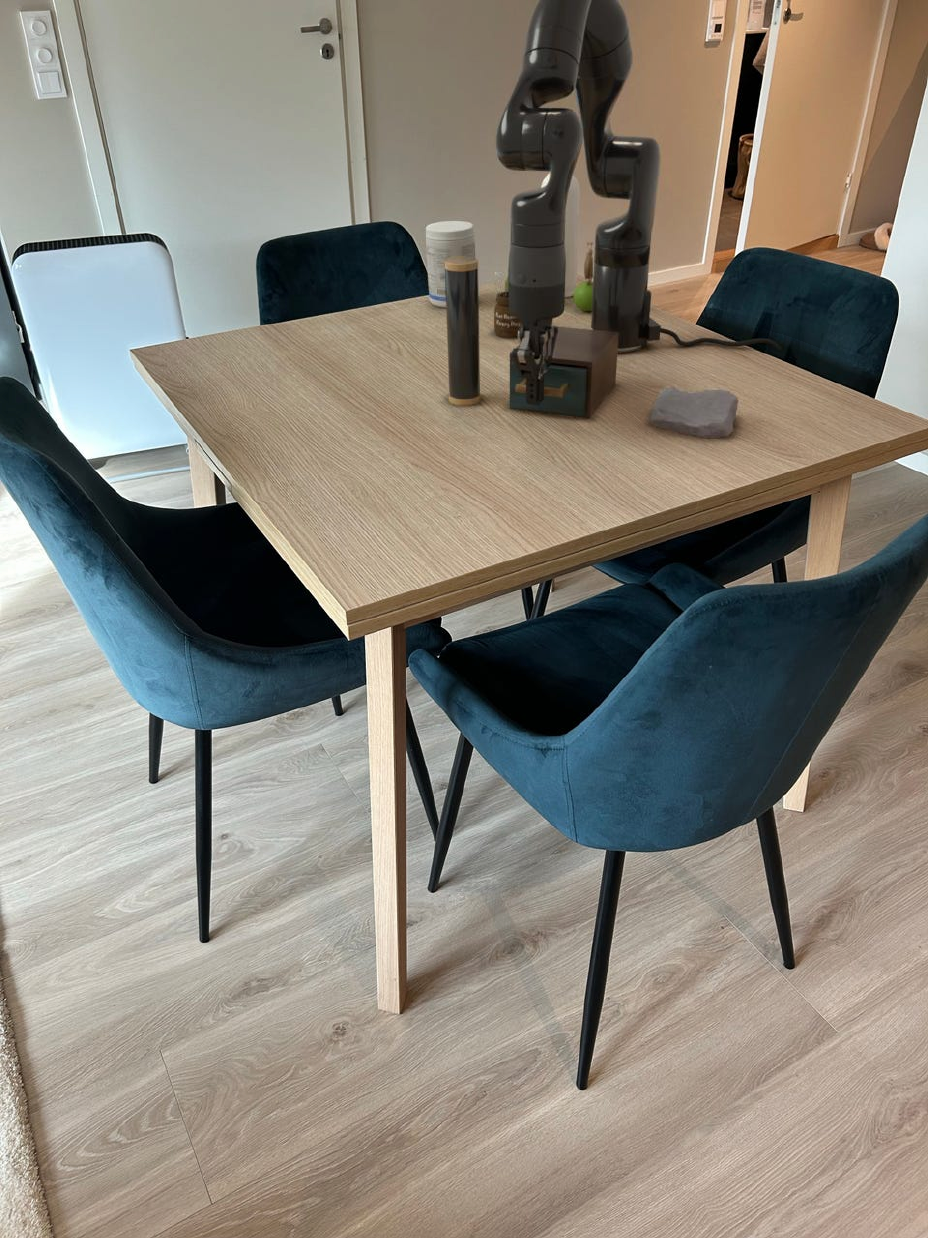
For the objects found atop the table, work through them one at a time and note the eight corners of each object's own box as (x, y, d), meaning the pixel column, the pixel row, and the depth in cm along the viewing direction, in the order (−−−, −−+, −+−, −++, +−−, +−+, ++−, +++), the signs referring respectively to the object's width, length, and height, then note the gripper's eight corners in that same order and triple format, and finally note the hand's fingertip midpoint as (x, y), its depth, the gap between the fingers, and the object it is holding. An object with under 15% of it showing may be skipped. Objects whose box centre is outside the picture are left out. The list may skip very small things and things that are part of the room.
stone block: (729, 451, 137) (738, 412, 143) (731, 422, 133) (740, 384, 140) (644, 445, 140) (657, 407, 147) (645, 416, 137) (658, 379, 144)
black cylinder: (476, 392, 154) (474, 254, 142) (483, 403, 150) (481, 262, 138) (446, 395, 153) (441, 257, 141) (452, 407, 149) (448, 265, 137)
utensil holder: (495, 328, 181) (495, 261, 175) (529, 328, 180) (530, 261, 174) (492, 338, 176) (491, 269, 170) (526, 338, 176) (527, 270, 169)
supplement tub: (467, 293, 201) (465, 218, 193) (483, 305, 194) (482, 227, 186) (422, 299, 199) (418, 223, 190) (437, 311, 191) (434, 232, 183)
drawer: (575, 426, 139) (577, 380, 135) (500, 416, 143) (500, 371, 139) (607, 385, 152) (610, 342, 149) (538, 377, 156) (539, 335, 152)
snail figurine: (600, 305, 192) (604, 241, 185) (601, 314, 187) (604, 249, 180) (573, 304, 193) (575, 241, 186) (572, 314, 187) (575, 249, 181)
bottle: (551, 285, 205) (554, 127, 188) (583, 291, 201) (590, 129, 184) (530, 295, 199) (532, 132, 183) (563, 300, 195) (568, 134, 179)
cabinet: (589, 419, 144) (592, 362, 139) (509, 408, 148) (509, 353, 143) (615, 385, 155) (618, 331, 150) (540, 377, 159) (541, 324, 154)
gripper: (548, 292, 122) (545, 422, 132) (578, 267, 132) (573, 389, 142) (492, 287, 125) (493, 416, 134) (526, 263, 135) (525, 384, 144)
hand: (534, 402), depth 138 cm, fingers closed
